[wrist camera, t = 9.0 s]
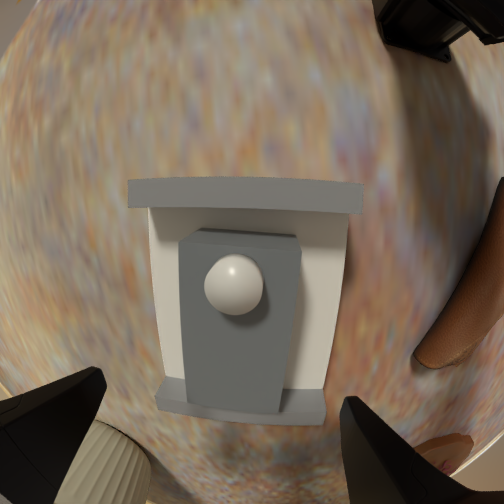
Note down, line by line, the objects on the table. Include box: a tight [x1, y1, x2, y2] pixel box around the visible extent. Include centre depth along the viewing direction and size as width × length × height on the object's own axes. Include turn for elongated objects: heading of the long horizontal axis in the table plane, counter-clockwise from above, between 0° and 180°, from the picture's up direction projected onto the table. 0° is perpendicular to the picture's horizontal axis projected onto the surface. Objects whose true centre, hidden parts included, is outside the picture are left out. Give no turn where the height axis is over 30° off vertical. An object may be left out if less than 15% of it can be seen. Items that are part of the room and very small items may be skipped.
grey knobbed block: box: [178, 228, 302, 414], centre depth 15 cm, size 10×6×5 cm, turn 176°
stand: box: [128, 177, 364, 425], centre depth 17 cm, size 12×16×6 cm
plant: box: [414, 433, 474, 476], centre depth 20 cm, size 20×20×11 cm
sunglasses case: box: [413, 177, 504, 369], centre depth 17 cm, size 18×7×7 cm, turn 155°
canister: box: [54, 420, 151, 504], centre depth 18 cm, size 18×18×21 cm
